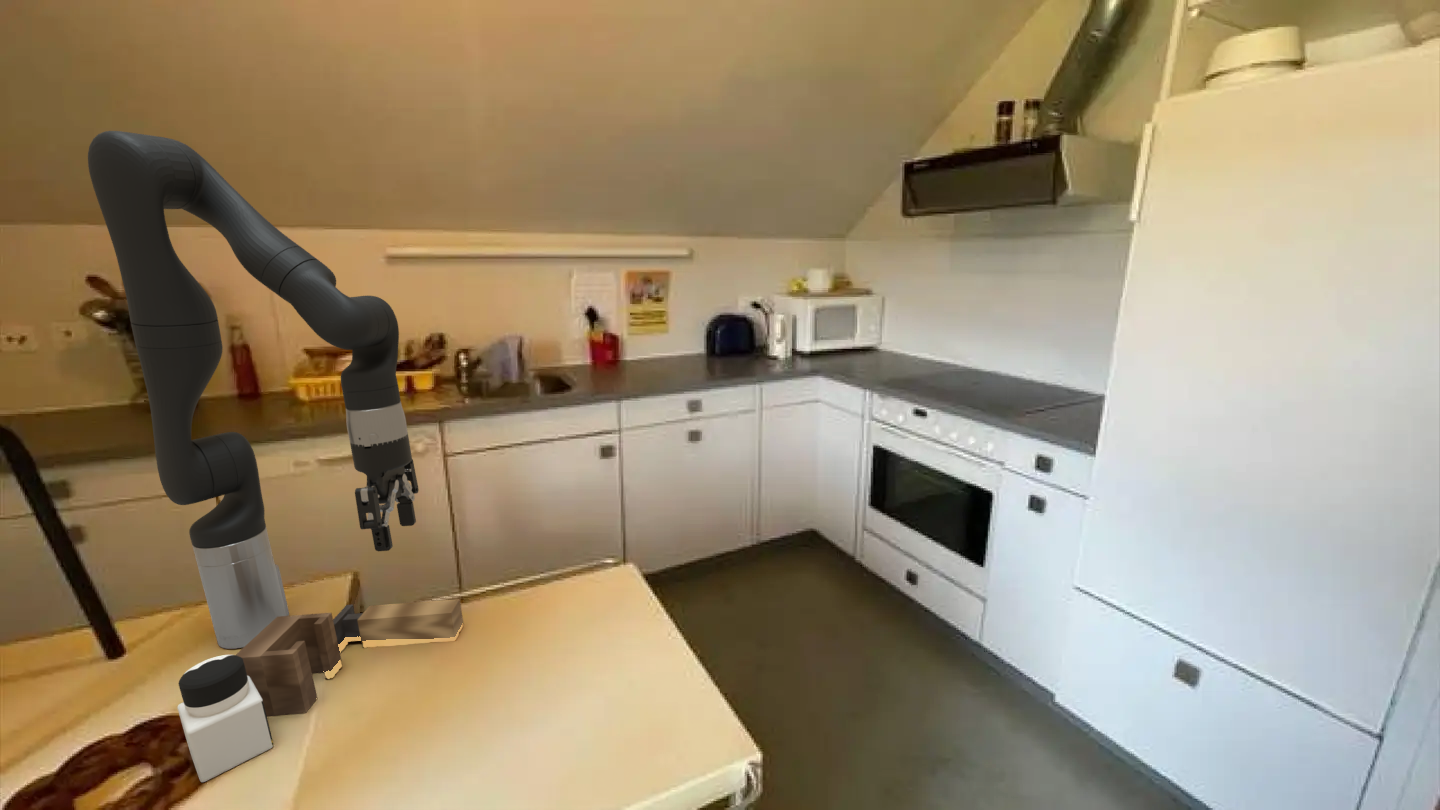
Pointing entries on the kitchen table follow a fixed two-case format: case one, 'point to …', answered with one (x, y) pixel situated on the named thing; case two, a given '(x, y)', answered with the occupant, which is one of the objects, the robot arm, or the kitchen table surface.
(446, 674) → the kitchen table surface
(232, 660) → the medicine bottle
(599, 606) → the kitchen table surface
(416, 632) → the oak rail
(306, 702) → the wooden u-shaped block
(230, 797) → the kitchen table surface
